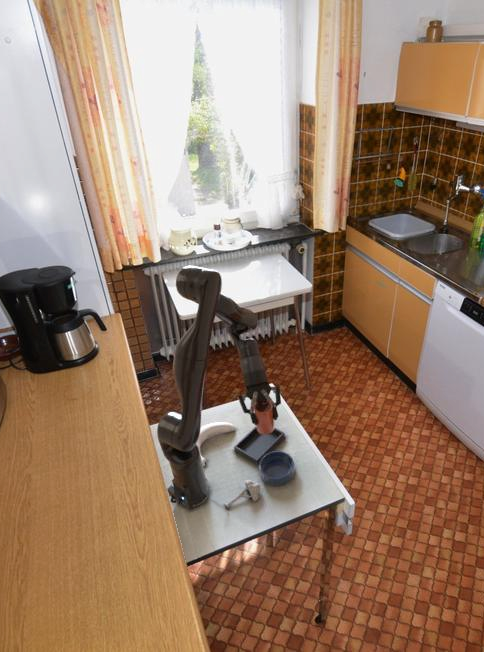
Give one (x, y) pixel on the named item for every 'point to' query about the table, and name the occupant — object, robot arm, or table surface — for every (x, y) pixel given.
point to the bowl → (276, 468)
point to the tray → (258, 444)
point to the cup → (264, 417)
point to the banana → (212, 433)
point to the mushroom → (253, 489)
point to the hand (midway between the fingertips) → (266, 422)
